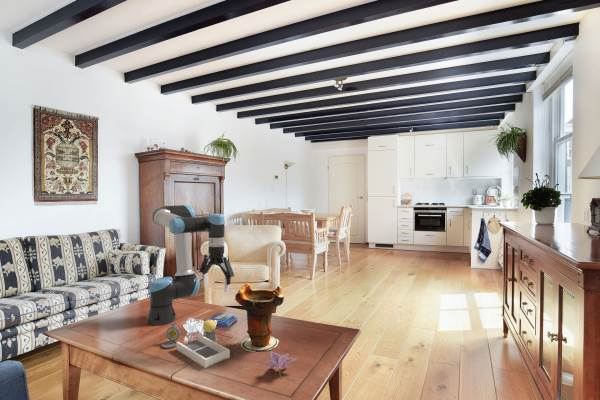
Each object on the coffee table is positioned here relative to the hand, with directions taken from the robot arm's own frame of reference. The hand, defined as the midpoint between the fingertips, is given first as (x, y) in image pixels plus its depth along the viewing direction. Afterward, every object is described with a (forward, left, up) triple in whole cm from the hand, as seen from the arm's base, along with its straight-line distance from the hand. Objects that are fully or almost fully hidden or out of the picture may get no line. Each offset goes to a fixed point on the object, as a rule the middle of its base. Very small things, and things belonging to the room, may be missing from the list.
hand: (216, 288), depth 163 cm
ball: (-2, -3, -21) cm, 21 cm away
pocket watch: (-11, -18, -25) cm, 33 cm away
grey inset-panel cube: (-2, -3, -25) cm, 25 cm away
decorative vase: (+19, +11, -25) cm, 33 cm away
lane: (+8, -13, -25) cm, 29 cm away
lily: (+45, -1, -25) cm, 52 cm away
